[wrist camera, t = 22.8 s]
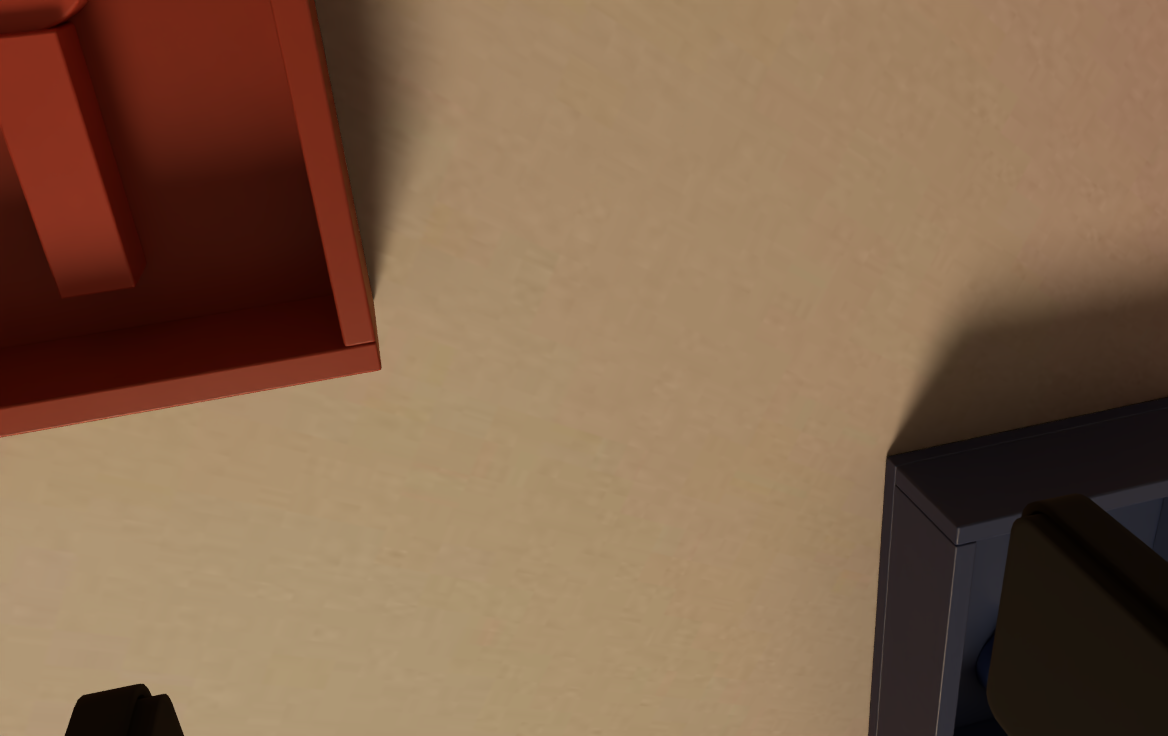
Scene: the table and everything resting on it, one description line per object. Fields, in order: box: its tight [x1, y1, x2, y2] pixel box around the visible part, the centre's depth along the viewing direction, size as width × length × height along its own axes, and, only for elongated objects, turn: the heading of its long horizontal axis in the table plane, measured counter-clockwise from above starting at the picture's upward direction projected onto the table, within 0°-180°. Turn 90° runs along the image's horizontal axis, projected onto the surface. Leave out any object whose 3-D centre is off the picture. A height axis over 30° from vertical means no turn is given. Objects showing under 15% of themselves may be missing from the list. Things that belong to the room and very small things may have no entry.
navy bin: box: [868, 397, 1168, 736], centre depth 34 cm, size 13×11×4 cm
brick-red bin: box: [0, 0, 381, 437], centre depth 20 cm, size 13×11×4 cm
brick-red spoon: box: [0, 0, 147, 299], centre depth 20 cm, size 9×4×2 cm, turn 5°
